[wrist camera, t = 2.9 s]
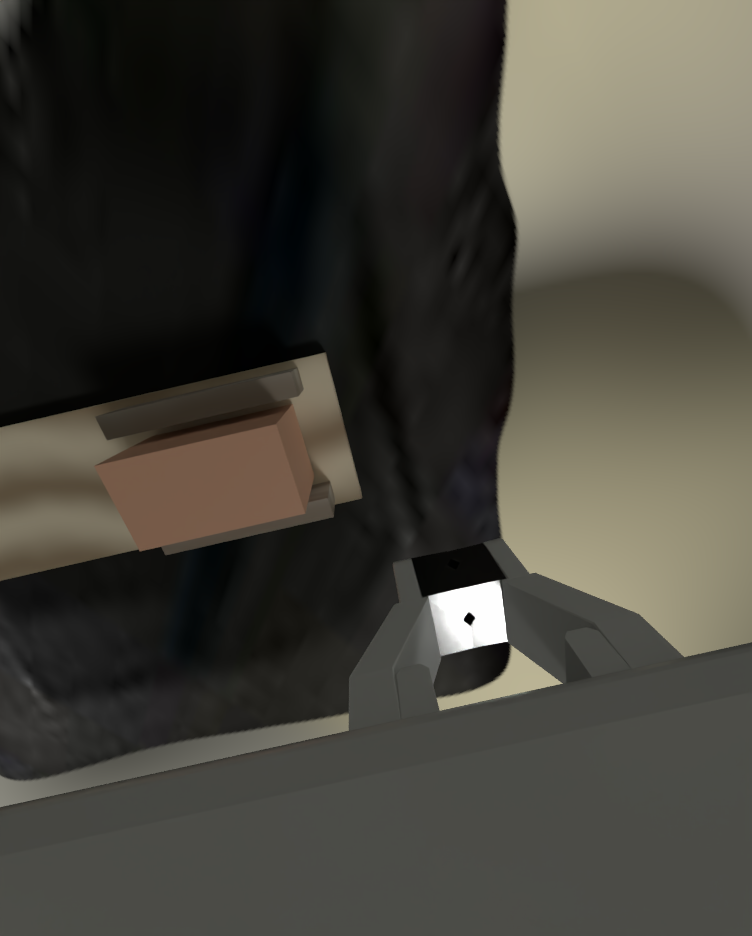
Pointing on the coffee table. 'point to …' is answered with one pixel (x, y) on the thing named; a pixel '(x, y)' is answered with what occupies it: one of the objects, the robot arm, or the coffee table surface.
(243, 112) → the coffee table surface
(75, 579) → the coffee table surface
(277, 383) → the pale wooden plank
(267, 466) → the terracotta block
